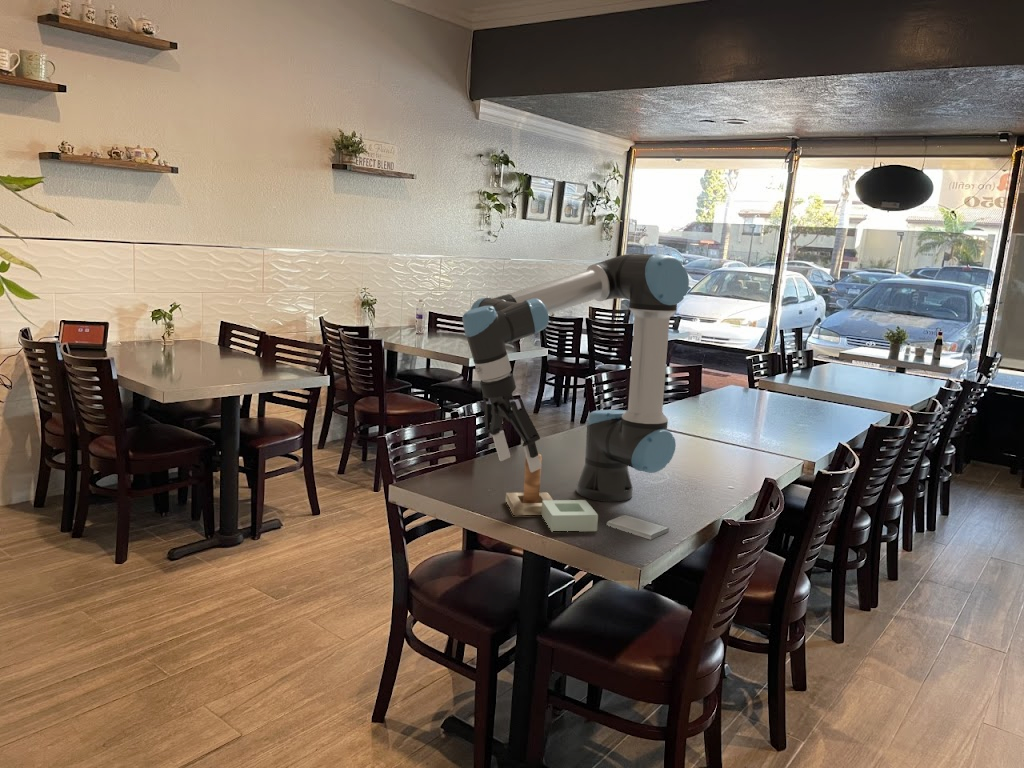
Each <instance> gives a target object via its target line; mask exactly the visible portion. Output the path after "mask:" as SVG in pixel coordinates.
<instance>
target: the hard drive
mask: <svg viewBox="0 0 1024 768" xmlns="http://www.w3.org/2000/svg"><path fill="white" fill-rule="evenodd" d="M607 525H608V527H610V526H611V527H610V528H612V529H613V528H614V529H616V528H617V530H620V531H622V532H626V533H628V532H629V533H628V534H631V533H632V535H635V536H638V537H642V538H645V539H647V540H653V539H656V538H658V537H660V536H662V535H664V534H666V533H669V532H670V527H667V526H663V525H660V524H658V523H657V524H656V523H653V522H650V521H647V520H643V519H640V518H637V517H633V516H631V515H626V514H624V515H623V514H622V515H619V516H618V517H616V518H612V519H610V520H608V521H607V522H606V526H607Z"/></svg>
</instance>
